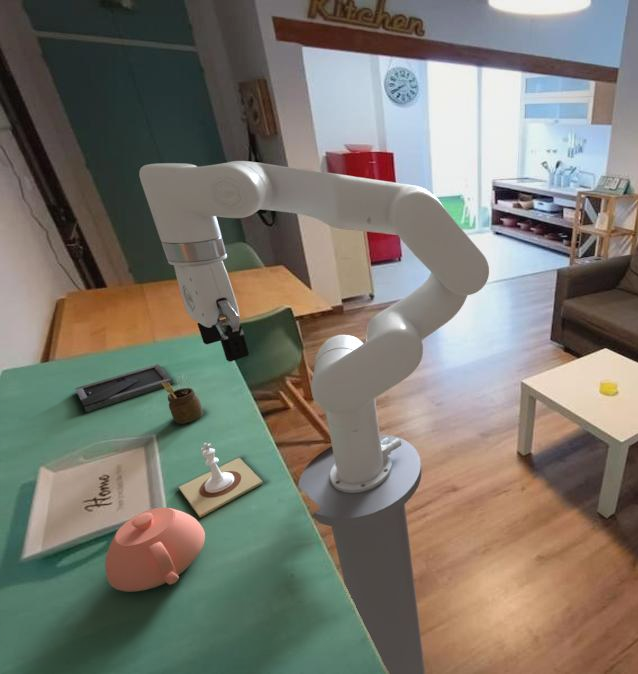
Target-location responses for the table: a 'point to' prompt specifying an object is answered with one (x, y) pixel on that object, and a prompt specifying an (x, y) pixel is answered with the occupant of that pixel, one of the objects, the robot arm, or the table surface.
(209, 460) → the chess piece
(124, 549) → the sugar bowl
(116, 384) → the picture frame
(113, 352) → the table surface
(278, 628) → the table surface
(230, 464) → the beige square coaster
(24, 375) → the table surface
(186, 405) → the utensil holder
